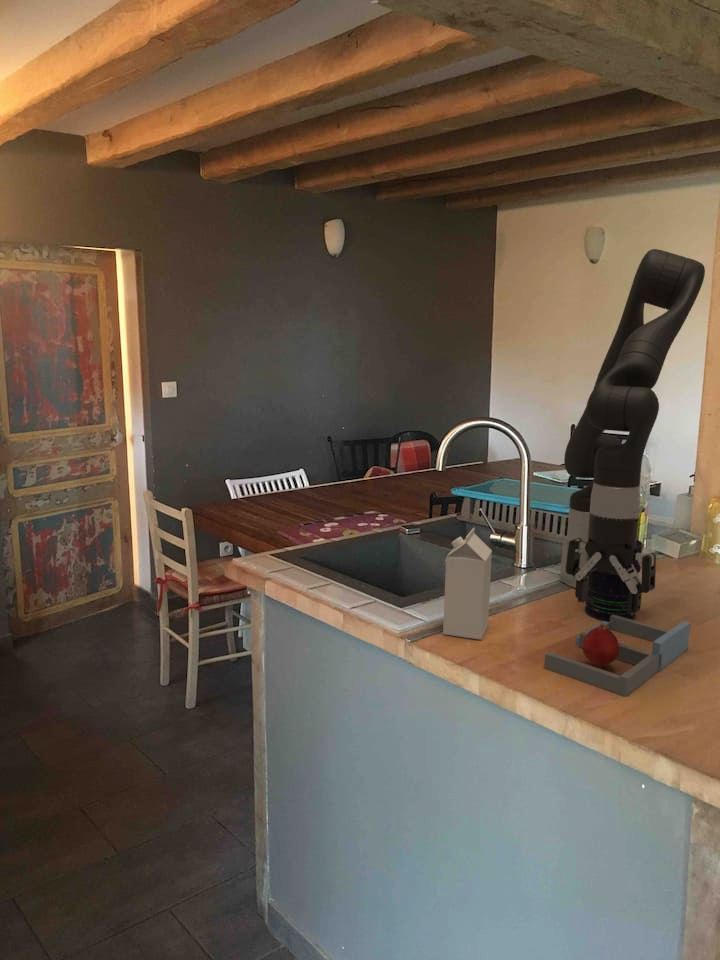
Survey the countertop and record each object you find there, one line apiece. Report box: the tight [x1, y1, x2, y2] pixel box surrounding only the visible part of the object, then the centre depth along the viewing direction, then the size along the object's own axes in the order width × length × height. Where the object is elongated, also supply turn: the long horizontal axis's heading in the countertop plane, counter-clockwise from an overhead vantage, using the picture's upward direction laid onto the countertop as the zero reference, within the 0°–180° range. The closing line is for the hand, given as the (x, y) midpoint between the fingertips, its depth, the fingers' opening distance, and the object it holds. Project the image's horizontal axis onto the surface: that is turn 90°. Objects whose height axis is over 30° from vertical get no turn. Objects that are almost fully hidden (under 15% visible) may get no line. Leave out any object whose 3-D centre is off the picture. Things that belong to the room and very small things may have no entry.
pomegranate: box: [582, 622, 619, 669], centre depth 128 cm, size 6×6×8 cm
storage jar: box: [584, 539, 643, 623], centre depth 152 cm, size 10×10×15 cm
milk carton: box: [442, 527, 493, 640], centre depth 141 cm, size 7×7×19 cm
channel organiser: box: [543, 615, 691, 697], centre depth 132 cm, size 15×25×5 cm, turn 137°
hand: (606, 607), depth 126 cm, fingers open, 8 cm apart
